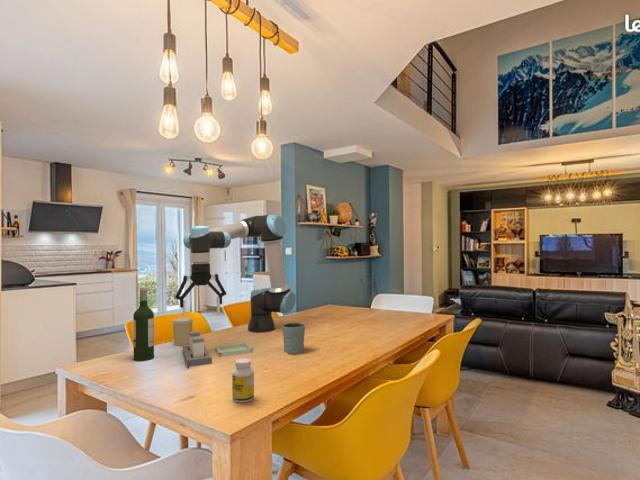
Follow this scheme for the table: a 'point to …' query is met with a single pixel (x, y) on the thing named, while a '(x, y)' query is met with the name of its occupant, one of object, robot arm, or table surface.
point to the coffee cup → (182, 331)
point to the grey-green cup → (293, 338)
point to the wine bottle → (143, 329)
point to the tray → (233, 349)
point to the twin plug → (193, 334)
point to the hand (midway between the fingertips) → (201, 314)
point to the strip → (197, 360)
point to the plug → (197, 346)
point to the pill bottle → (243, 381)
